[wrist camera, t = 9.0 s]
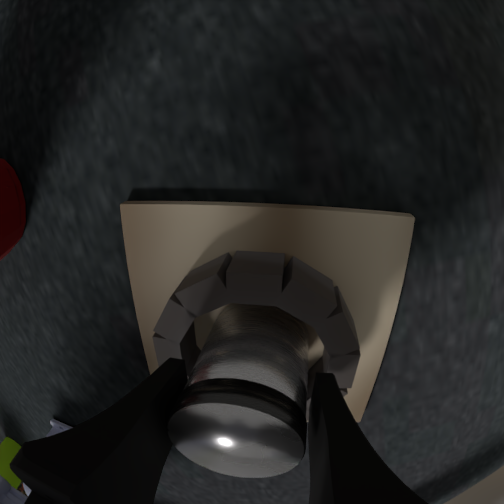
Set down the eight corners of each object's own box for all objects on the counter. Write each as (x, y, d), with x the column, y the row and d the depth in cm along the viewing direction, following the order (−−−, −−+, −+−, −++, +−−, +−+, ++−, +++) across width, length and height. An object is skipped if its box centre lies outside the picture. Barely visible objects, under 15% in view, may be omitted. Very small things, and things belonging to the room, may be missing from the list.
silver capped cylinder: (216, 369, 15) (180, 466, 10) (207, 293, 14) (151, 392, 8) (305, 377, 15) (298, 482, 9) (313, 299, 13) (313, 412, 7)
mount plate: (161, 395, 18) (146, 426, 15) (126, 201, 13) (93, 217, 11) (358, 414, 16) (363, 448, 14) (410, 213, 12) (434, 234, 9)
